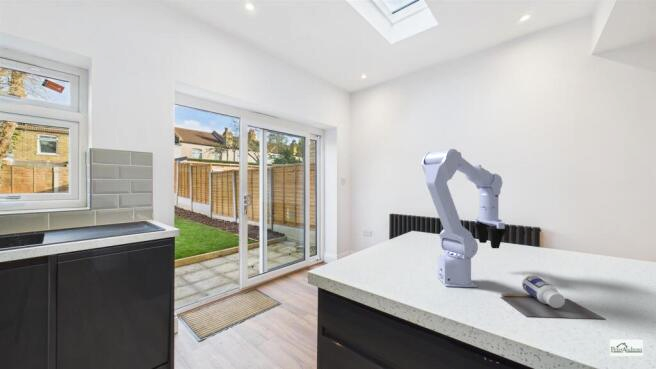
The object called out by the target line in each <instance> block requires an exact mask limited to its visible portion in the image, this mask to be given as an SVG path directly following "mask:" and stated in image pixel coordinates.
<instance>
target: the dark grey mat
mask: <svg viewBox="0 0 656 369" xmlns="http://www.w3.org/2000/svg"><path fill="white" fill-rule="evenodd" d="M500 294H501V296H500V299H502V300H503V301H504V302H506V303H507V304H508V305H510V306H511V307H512V308H514V309H515V310H516V311H518V312H519V313H520V314H522V315H523V316H524V317H526V318H546V319H547V318H549V319H551V318H552V319H576V320H577V319H579V320H580V319H581V320H606V317H603V316H601V315H599V314H598V313H596V312H594V311H592V310H590V309H588V308H586V307H585V306H583V305H581V304H579V303H576V302H575V301H573V300H571V299H569V298H565V303H564V305H563V306H562V307H560V308H553V307H551V306H550V305H548V304H544V303H542V302H540V301H539V300H537V299H536V298H535V297H533V296H532V295H531V294H529V293H528V294H527V293H525V294H523V293H522V294H521V293H500Z"/></svg>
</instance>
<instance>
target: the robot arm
mask: <svg viewBox="0 0 656 369" xmlns="http://www.w3.org/2000/svg"><path fill="white" fill-rule="evenodd" d="M420 164H421V167H422V169H423V172H424V176H425V181H426V186H427V188H428V191H429V194H430V196H431V199H432V203H433V204H434V207H435V209H436V212H437V215H438V218H439V220H440V223H441V226H442V228H443V229H442V230H441V232H440V233H439V235H438V236H439V238H440V247H441V248H442V250H443V253H444V254H440V255H439V256H438V258H437V260H438V261H437V276H436V277H437V279H439V280H440V282H442V284H443V285H444V286H445V287H452V288H453V287H455V288H456V287H458V288H460V287H461V288H462V287H463V288H477V287H478V285H477V284H475V283H474V282H473V281H472V258H474V257H475V256H476V254H477V252H478V248H479V244H478V242H477V240H476V239H475V238H474V236H473V233H472V232H471V231H469V230H468V229H467V228H465V226H463V225H462V222H461V219H460V216H459V214H458V211H457V207H456V205H455V201H454V200H453V196H452V194H451V191H450V188H449V186H448V181H450V180H451V179H452V178H453V177H454V175H455V173H456V172H457V171H458V172H460V173H462V174H464V177H465V179H466V180H468V181H470V182H471V183H473V184H475V187H476V189H477V190H479V192H478V194H479V201H478V202H479V204H478V205H479V210H478V211H479V214H478V216H475V218H474V219H475V220H474V222H473V223H472V226H473V227H474V230H475V231H476V234H477V237H478V241H479V243H481V244H486V243H487V242H488V237H489V240H490V248H491V249H500V246H501V243H502V240H503V237H504V236H505V234H506V233H507V232H508V228H505V227H506V226H505V222H502V221H503V220H502V219H500V218H499V196H500V195H501V189H502V187H503V184H504V182H503V178H502V177H501V175H500V174H498V173H491V172H490V171H489V170H488V169H485V168H484V167H482V165H481V164H471V163H470V162H469V161H468V160H466V159H465V158H464V157H462V153H461V152H460V151H458V150H457V149H455V148H450V149H447V150H445V149H444V150H438V151H433V152H432V151H429V152H426V153H425V154H424V156H423V158H422V161H421V162H420ZM488 235H489V236H488Z"/></svg>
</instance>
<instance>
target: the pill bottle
mask: <svg viewBox="0 0 656 369" xmlns="http://www.w3.org/2000/svg"><path fill="white" fill-rule="evenodd" d="M521 287H522V288H523V290H524V291H525V292H527V293H528V294H531V295H532V296H533V297H535V298H536V299H537V300H539V301H540V302H542V303H544V304H548V305H550V306H551V307H553V308H560V307H562V306H563V305H564V303H565V299H566V298H565V296H564V295H562V294H561V293H560V292H559V290H558V289H557V288H556V287H555V286H553V285H552V284H550V283H548V282H547V281H545V280H544V279H542V278H541V277H539V276H537V275H534V274H533V275H532V274H531V275H527V276H525V278H523V280H522V281H521Z"/></svg>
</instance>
